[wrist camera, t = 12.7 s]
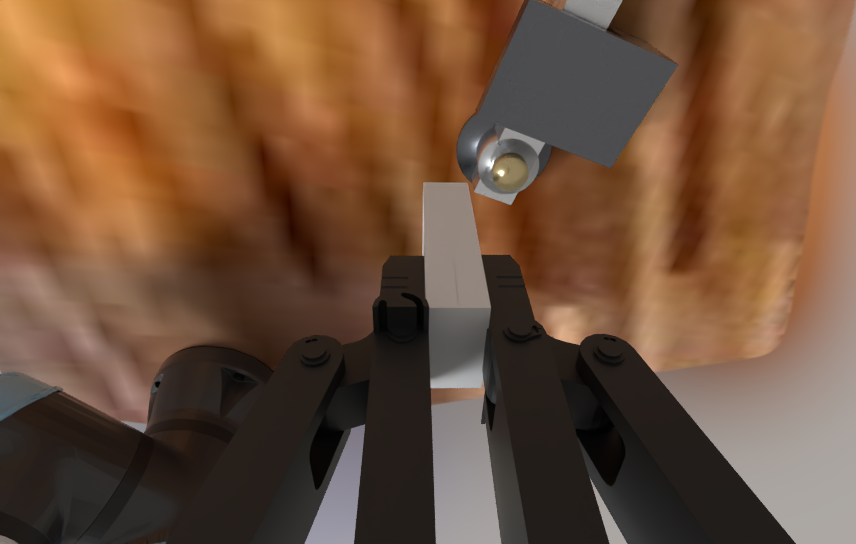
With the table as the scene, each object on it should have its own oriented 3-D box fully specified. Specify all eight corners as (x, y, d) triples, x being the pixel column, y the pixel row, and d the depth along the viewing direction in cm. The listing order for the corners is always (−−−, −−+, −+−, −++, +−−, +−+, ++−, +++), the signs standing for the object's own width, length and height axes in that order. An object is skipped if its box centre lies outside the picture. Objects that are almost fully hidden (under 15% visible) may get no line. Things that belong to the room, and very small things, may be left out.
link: (514, 190, 45) (518, 207, 43) (464, 173, 44) (465, 189, 42) (667, -96, 33) (686, -94, 30) (603, -129, 32) (617, -130, 30)
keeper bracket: (547, 210, 47) (560, 245, 43) (437, 171, 45) (437, 203, 40) (648, 43, 39) (678, 64, 34) (517, -17, 36) (530, -2, 32)
